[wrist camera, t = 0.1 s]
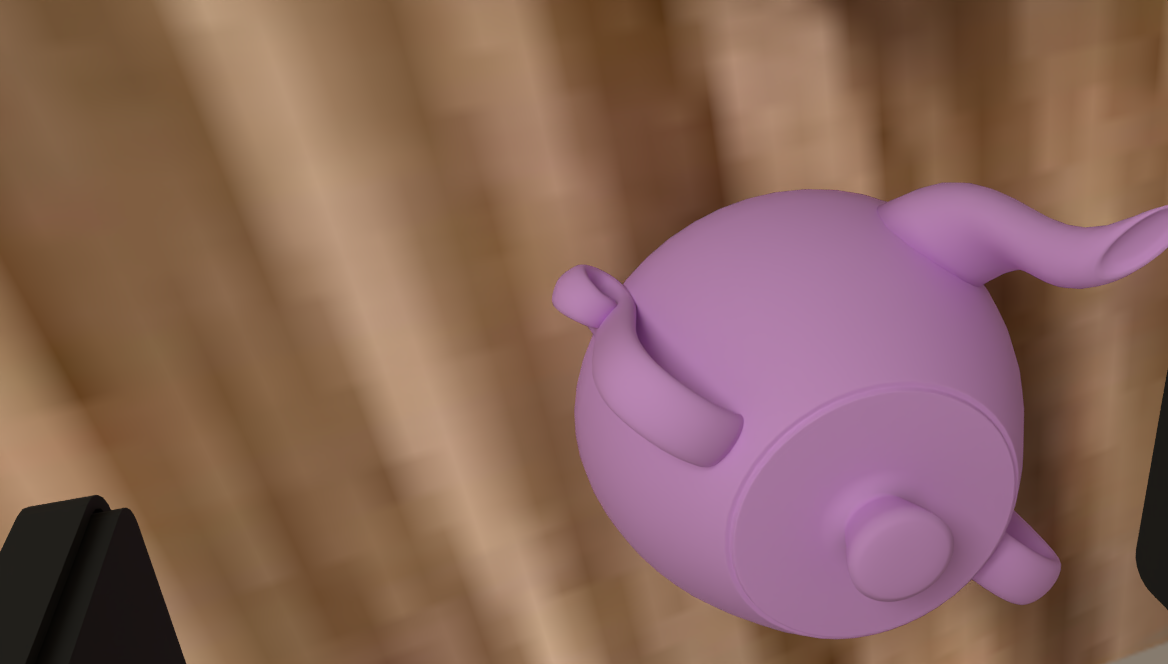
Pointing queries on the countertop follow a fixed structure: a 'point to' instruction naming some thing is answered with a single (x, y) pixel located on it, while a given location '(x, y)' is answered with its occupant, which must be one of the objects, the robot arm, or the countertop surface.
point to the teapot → (828, 400)
